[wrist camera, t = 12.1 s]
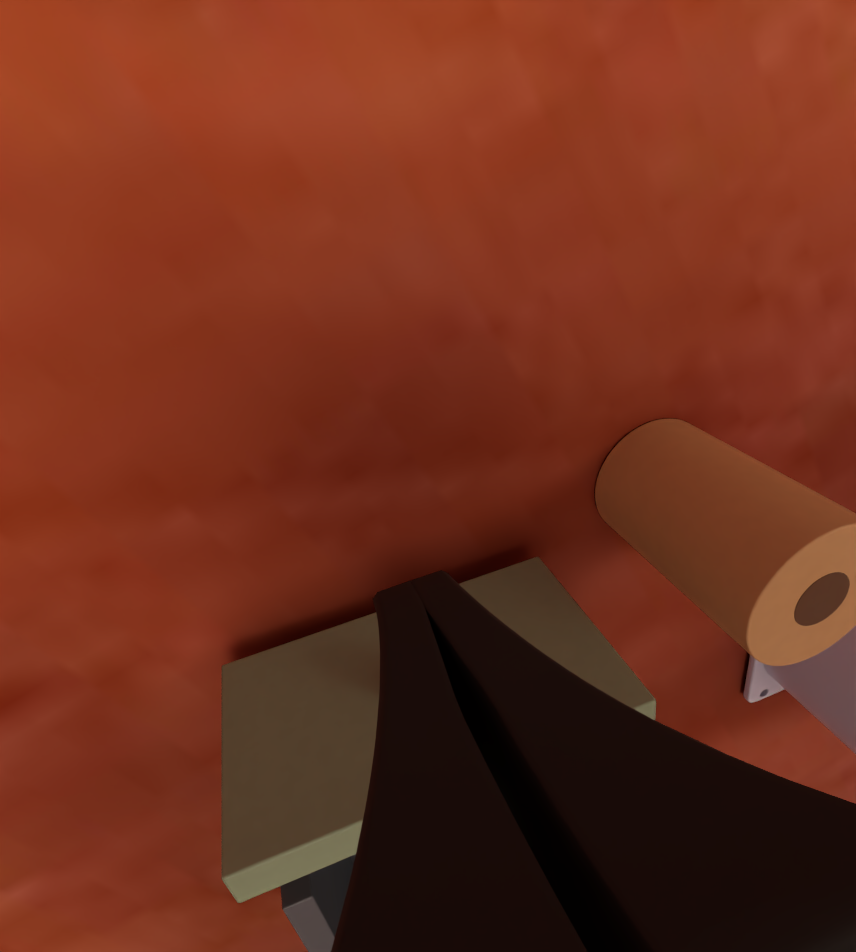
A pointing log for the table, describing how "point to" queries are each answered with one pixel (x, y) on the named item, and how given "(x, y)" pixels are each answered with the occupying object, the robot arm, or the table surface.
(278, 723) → the drawer
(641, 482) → the paper roll
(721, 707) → the table surface
